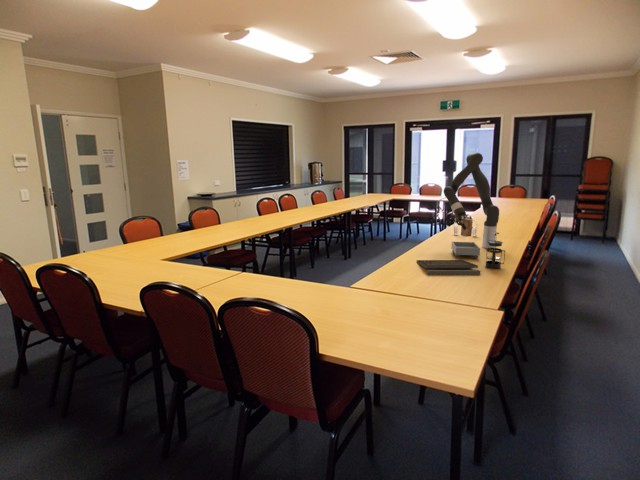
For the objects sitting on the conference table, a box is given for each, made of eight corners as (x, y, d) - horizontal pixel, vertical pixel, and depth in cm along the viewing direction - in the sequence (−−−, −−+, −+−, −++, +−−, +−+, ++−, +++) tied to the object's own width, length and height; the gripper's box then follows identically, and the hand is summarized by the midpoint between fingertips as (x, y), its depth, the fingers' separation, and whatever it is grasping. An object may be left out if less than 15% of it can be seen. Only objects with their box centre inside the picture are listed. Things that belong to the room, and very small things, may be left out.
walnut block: (466, 234, 294) (467, 218, 291) (471, 236, 289) (472, 219, 287) (460, 235, 292) (462, 218, 290) (465, 236, 288) (466, 219, 285)
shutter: (416, 270, 279) (428, 278, 248) (416, 260, 278) (428, 266, 247) (463, 267, 278) (481, 275, 247) (463, 257, 278) (480, 263, 247)
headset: (452, 235, 365) (453, 215, 361) (453, 234, 371) (455, 214, 368) (476, 237, 357) (477, 217, 353) (477, 235, 363) (478, 216, 359)
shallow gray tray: (473, 252, 302) (474, 242, 300) (479, 259, 283) (480, 248, 281) (451, 252, 305) (451, 241, 303) (455, 258, 285) (456, 247, 284)
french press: (483, 268, 262) (486, 233, 257) (484, 264, 270) (487, 230, 265) (503, 270, 257) (506, 234, 252) (503, 266, 265) (507, 231, 261)
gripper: (452, 207, 291) (462, 226, 282) (469, 206, 296) (479, 225, 287) (447, 213, 297) (457, 232, 288) (463, 212, 302) (473, 231, 293)
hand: (468, 229), depth 288 cm, fingers closed on walnut block, 5 cm apart
